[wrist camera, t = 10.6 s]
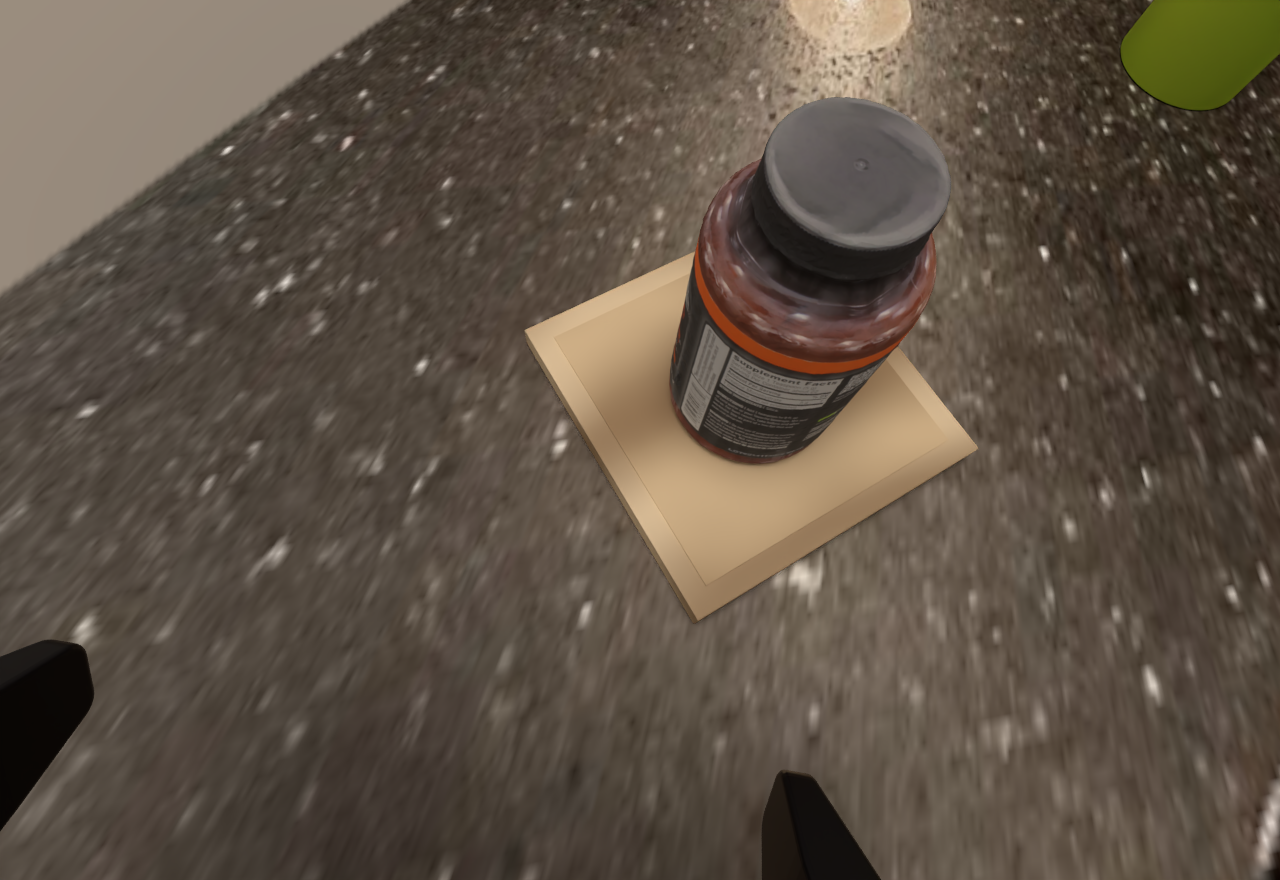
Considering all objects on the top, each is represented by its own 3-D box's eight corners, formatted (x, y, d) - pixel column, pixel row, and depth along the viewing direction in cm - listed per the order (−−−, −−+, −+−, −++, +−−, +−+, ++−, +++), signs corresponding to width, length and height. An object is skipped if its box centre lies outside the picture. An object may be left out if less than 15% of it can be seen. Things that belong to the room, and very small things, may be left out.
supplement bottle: (708, 295, 26) (786, 19, 16) (852, 363, 26) (1036, 123, 15) (636, 422, 24) (671, 204, 14) (791, 499, 23) (955, 334, 13)
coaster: (964, 457, 26) (979, 447, 25) (693, 624, 23) (698, 620, 22) (782, 224, 29) (789, 206, 28) (527, 343, 26) (524, 329, 25)
